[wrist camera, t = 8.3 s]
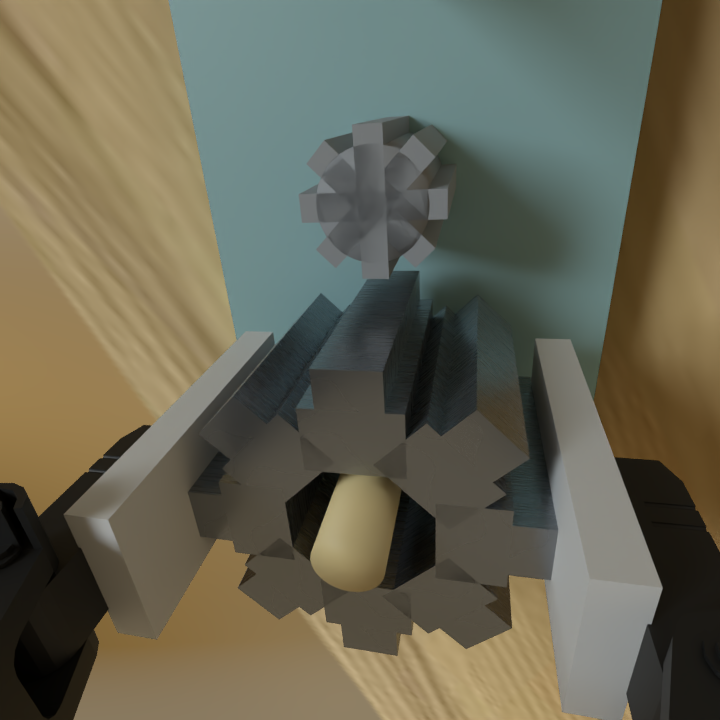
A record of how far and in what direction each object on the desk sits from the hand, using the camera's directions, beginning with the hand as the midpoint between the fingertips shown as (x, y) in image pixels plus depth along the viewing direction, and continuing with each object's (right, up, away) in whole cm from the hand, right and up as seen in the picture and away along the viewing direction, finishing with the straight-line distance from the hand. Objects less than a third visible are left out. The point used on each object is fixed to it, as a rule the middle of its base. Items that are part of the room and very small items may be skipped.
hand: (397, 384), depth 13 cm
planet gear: (0, 0, 0) cm, 0 cm away
